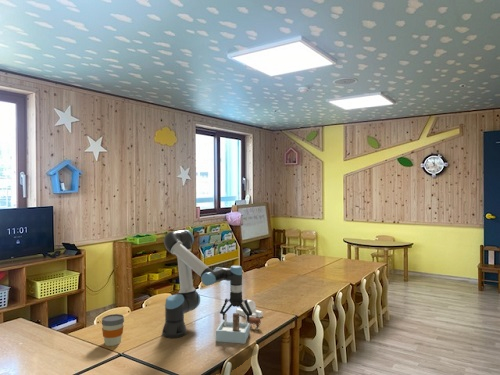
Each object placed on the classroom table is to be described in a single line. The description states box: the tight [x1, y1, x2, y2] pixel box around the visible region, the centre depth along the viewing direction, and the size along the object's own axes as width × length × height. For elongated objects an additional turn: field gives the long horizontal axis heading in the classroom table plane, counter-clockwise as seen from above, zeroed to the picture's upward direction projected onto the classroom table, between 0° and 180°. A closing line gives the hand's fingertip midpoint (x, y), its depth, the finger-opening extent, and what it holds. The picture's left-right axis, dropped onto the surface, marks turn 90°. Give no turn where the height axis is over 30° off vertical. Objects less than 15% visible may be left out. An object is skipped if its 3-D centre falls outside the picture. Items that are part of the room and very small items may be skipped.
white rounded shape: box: [235, 299, 264, 319], centre depth 268 cm, size 18×10×11 cm, turn 45°
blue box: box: [215, 320, 250, 344], centre depth 227 cm, size 18×16×6 cm
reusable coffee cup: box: [101, 313, 125, 347], centre depth 218 cm, size 13×13×15 cm
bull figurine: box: [243, 315, 261, 331], centre depth 243 cm, size 4×13×8 cm, turn 51°
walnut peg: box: [232, 312, 240, 332], centre depth 226 cm, size 4×4×15 cm
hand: (235, 325), depth 226 cm, fingers open, 13 cm apart
